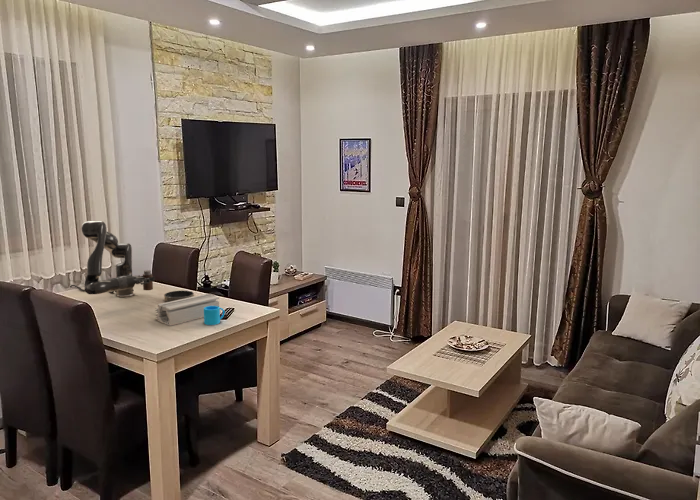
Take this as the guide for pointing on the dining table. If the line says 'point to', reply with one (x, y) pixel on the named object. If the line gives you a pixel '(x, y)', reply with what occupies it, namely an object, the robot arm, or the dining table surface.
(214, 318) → the mug
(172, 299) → the pan
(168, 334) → the dining table surface
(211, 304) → the aluminum extrusion profile
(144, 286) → the pepper mill
